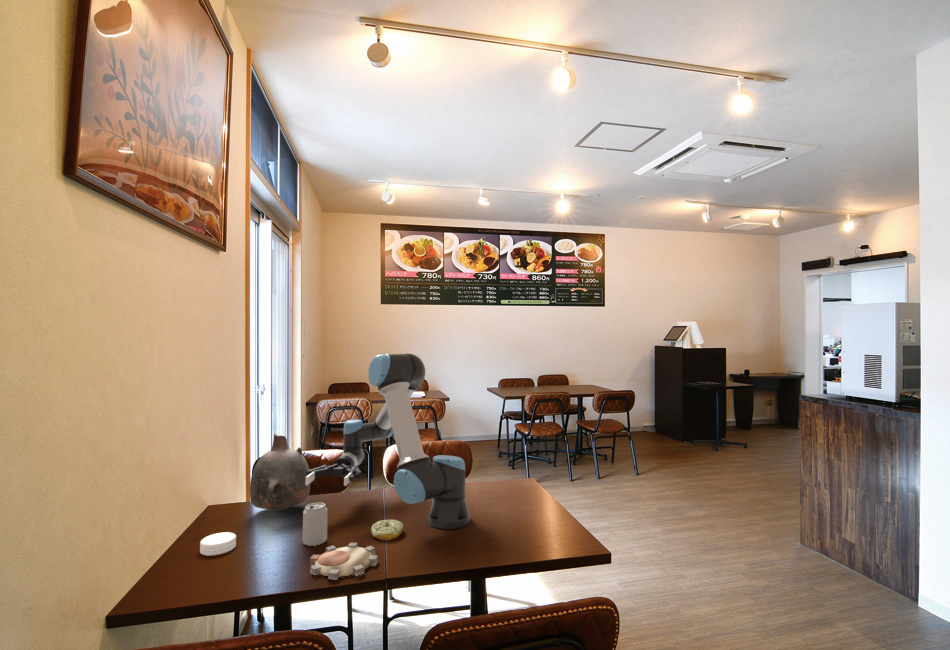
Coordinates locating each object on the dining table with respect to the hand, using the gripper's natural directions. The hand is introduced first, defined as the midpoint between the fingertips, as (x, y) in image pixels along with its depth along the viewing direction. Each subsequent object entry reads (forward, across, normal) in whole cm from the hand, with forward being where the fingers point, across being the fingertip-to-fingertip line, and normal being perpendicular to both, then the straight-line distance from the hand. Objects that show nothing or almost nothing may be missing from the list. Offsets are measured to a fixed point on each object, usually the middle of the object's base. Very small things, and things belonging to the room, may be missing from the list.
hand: (325, 481), depth 158 cm
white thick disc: (+15, +28, -17) cm, 37 cm away
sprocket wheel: (+24, -14, -16) cm, 32 cm away
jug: (-17, +24, -17) cm, 34 cm away
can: (+10, 0, -17) cm, 20 cm away
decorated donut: (+3, -22, -17) cm, 28 cm away
